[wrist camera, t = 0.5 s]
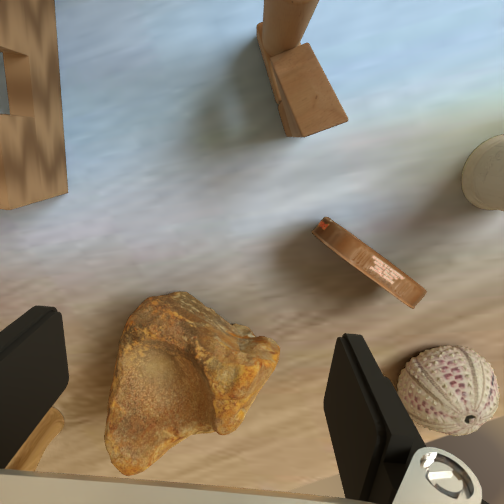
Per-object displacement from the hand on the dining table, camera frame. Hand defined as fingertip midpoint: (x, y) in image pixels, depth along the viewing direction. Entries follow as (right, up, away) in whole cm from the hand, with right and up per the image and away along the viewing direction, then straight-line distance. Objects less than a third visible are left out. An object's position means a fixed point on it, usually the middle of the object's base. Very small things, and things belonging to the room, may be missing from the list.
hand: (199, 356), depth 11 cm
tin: (+15, +4, +31) cm, 35 cm away
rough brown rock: (-7, -8, +35) cm, 37 cm away
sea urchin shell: (+29, -15, +38) cm, 50 cm away
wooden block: (+6, +22, +25) cm, 34 cm away
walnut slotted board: (-21, +21, +25) cm, 39 cm away
